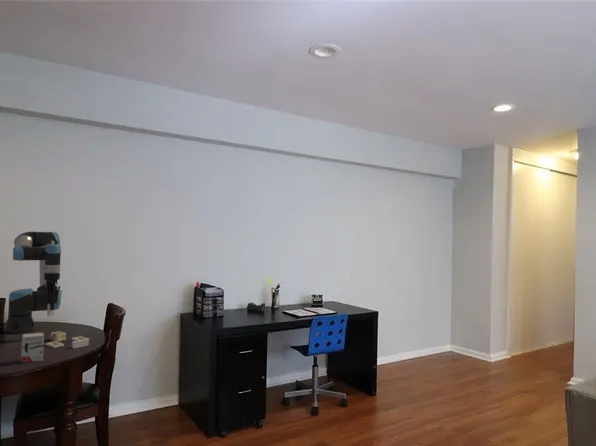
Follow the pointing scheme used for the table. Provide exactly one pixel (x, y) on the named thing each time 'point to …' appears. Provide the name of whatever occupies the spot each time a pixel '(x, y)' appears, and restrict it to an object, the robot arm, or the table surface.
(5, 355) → the table surface
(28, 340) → the ink box
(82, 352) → the table surface
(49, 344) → the trap pits
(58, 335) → the maple block
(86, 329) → the table surface
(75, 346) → the block
